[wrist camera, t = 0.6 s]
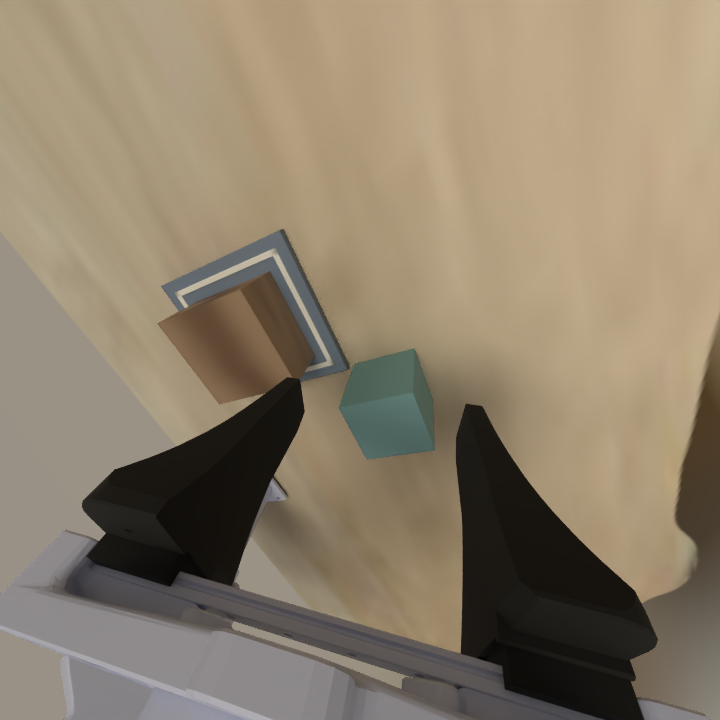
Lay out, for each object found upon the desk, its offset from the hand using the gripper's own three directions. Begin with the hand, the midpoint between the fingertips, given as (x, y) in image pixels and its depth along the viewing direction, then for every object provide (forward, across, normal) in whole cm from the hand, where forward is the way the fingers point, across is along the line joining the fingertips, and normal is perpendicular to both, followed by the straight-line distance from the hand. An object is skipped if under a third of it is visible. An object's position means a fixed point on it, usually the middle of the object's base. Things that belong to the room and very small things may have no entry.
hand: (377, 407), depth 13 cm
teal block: (+10, 0, +6) cm, 11 cm away
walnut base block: (+9, +11, +2) cm, 14 cm away
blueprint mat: (+9, +11, +2) cm, 15 cm away
